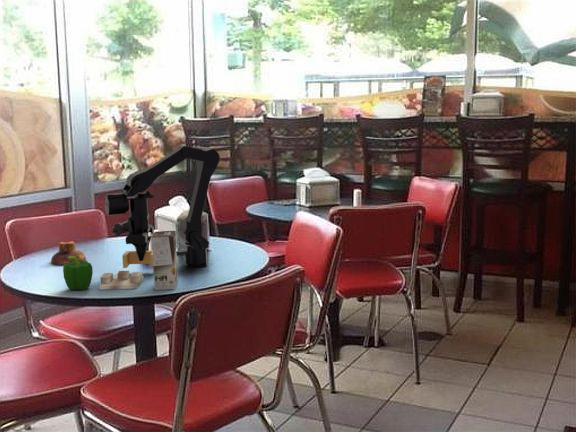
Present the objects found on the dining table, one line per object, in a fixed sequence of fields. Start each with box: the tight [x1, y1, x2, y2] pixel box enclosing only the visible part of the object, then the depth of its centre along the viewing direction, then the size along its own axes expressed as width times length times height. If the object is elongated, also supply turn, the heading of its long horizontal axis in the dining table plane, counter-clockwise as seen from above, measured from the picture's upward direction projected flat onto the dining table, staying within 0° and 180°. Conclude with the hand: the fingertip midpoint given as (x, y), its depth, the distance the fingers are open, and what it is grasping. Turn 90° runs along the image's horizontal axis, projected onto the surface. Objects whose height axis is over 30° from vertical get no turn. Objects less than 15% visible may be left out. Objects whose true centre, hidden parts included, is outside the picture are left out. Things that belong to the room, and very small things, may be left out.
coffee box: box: [151, 230, 179, 291], centre depth 212 cm, size 9×6×16 cm
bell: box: [50, 240, 87, 266], centre depth 248 cm, size 12×12×7 cm
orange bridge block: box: [121, 249, 154, 269], centre depth 227 cm, size 10×7×4 cm, turn 92°
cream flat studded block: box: [99, 270, 144, 290], centre depth 216 cm, size 11×12×3 cm
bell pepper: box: [62, 256, 94, 291], centre depth 211 cm, size 8×8×10 cm
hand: (141, 260), depth 230 cm, fingers closed on orange bridge block, 2 cm apart
